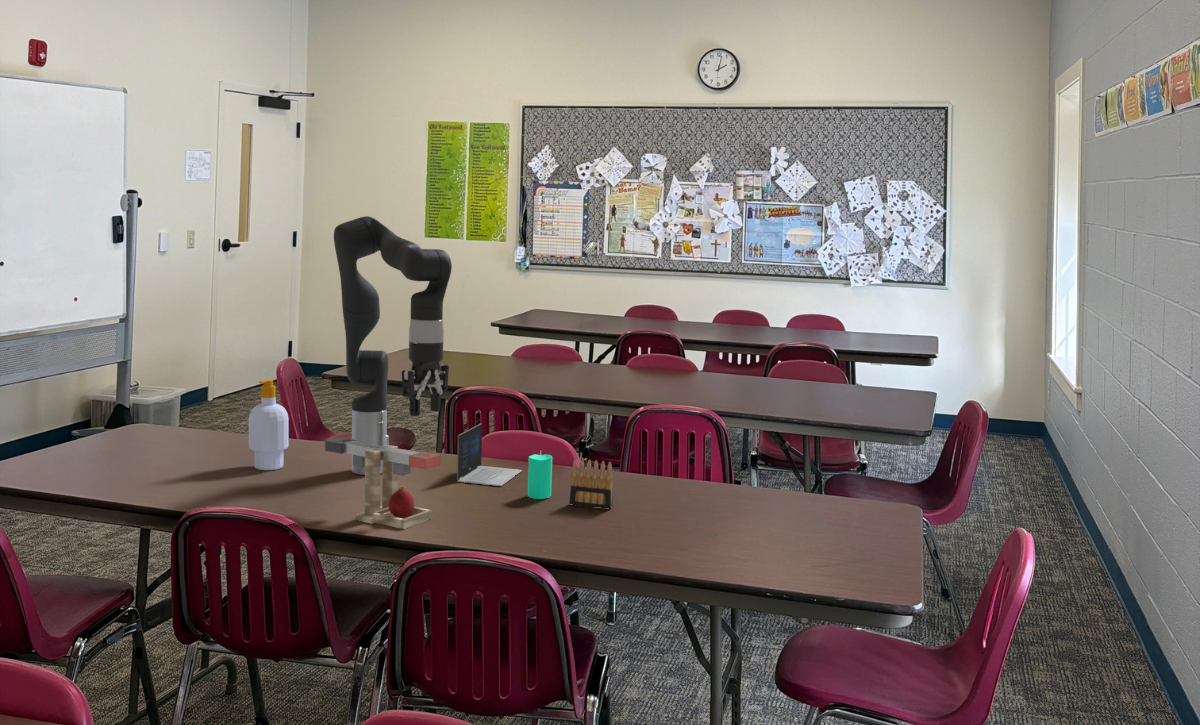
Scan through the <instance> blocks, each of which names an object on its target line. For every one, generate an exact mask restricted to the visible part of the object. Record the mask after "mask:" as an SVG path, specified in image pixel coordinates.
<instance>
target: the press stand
mask: <svg viewBox="0 0 1200 725" xmlns="http://www.w3.org/2000/svg"><path fill="white" fill-rule="evenodd" d="M385 446H386V447H392V448H398V449H399V446H398V445H391V444H389V445H385ZM380 471H381V451H378V450H372V449H370V450H366V451H365V475H364V511H363V512H360V513H357V514H355V515H354V520H355V521H357V520H358V521H357V522H363V523H366V524H367V523H368V524H370V525H371V524H379V525H384V526H389V527H393V528H396V529H402V530H406V529H409V528H412V527H414V526H416V525H419V524H422V523H425V522H427V521H430V520H432V519H433V510H431V509H428V508H427V509H426V508H423V507H417V506H414V509H413V511H412V513H411V514H410V515H409V516H407V517H406V518H405V519H403V518H398V517H395V516H393V514H392V513H391V512H390V510H389V500H390V498H391V496H392V495H393V494H394V493H395V492H396V491H398V475H397V474H393V462H390V461H384V460H383V468H382V473H381V474H382V476H381V474H380ZM381 478H382V482H381ZM381 483H382V484H381ZM381 486H382V487H381ZM381 492H382V493H381ZM381 495H382V496H381ZM429 519H430V520H429Z"/></svg>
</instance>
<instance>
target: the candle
mask: <svg viewBox="0 0 1200 725" xmlns="http://www.w3.org/2000/svg"><path fill="white" fill-rule="evenodd" d="M527 464H528V468H527V469H528V471H527V497H528V496H529V497H530V498H534V499H544V498H549V497H550V496H551V497H552V481H553V480H552V478H553V456H552V455H551V454H542V450H540V453H539V454H532V455H529V456H528V463H527ZM530 498H529V499H530ZM534 499H533V500H534Z"/></svg>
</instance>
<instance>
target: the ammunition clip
mask: <svg viewBox="0 0 1200 725" xmlns="http://www.w3.org/2000/svg"><path fill="white" fill-rule="evenodd" d="M586 463H587V464H586V469H585V461H584V459H583V458H581V460H580V465H578V459H577V458H576V457H575V458H574V459H573V464H572V471H571V472H572V473H571V479H570V480H571V483H570V489H569V491H570V492H569V504H573V505H580V506H579V507H581V506H588V507H587V508H590V507H601V508H609V509H611V506H612V507H614V505H613V466H612V462H611V461H609V462H608V464H607V468H606V464H605V461H604V460H602V461H601V463H600V468H599V464H598V460H597V459H596V460H595V461H594V463H593V471H592V462H591V459H588V461H587V462H586ZM578 466H579V468H578ZM599 469H600V470H599ZM578 470H579V472H578ZM585 470H586V471H585ZM599 471H600V472H599ZM585 472H586V474H585ZM569 504H568V505H569ZM611 510H612V509H611Z"/></svg>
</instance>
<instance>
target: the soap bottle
mask: <svg viewBox="0 0 1200 725" xmlns="http://www.w3.org/2000/svg"><path fill="white" fill-rule="evenodd" d="M258 383H259V384H263V385H261V386H260V387H261V390H260V391H261V403H259V404H256V406H254V407H253V408H252V409H251V410H250V412H249V416H248V449H250V451H253V456H254V457H253V466H254V468H255V469H257V470H258V471H259V470H260V471H274V470H275V471H276V470H279V469H280V470H281V469H282V468H283V467H284V450H286V449H288V448H289V447H290V446H289V414H288V412H287V410H286V408H285V407H284V406H282V405H281V404H278V403H277V402H276V385H274V379H264V380H261V381H260V380H259V382H258Z"/></svg>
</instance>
